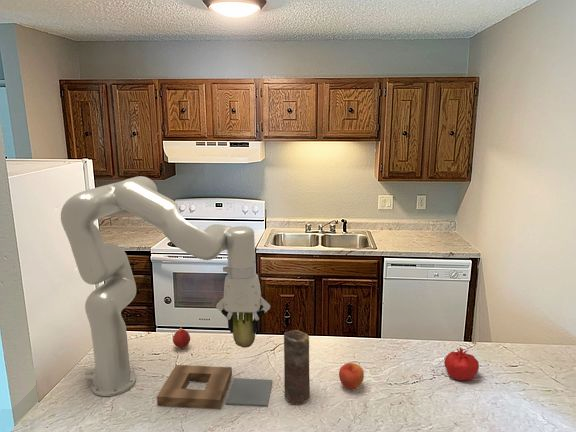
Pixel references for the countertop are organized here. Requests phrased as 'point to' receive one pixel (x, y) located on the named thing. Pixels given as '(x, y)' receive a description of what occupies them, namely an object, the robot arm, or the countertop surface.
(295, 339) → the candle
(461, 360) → the pomegranate
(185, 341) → the red ovoid
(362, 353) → the countertop surface
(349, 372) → the apple
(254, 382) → the mat
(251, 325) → the fennel bulb
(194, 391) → the pocket holder
